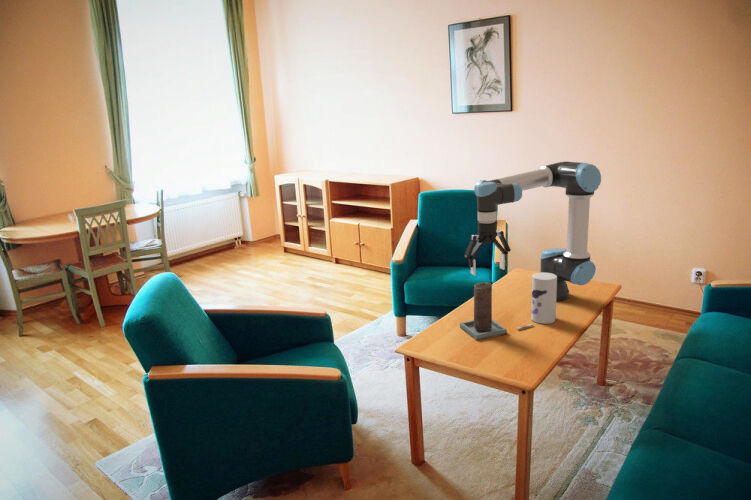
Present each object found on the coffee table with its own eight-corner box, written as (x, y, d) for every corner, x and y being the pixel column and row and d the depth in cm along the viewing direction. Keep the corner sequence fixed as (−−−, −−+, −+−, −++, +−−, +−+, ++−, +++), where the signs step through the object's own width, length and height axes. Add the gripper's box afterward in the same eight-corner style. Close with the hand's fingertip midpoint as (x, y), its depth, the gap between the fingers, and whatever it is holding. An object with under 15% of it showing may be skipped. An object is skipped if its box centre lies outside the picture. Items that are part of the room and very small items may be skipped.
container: (527, 320, 227) (528, 276, 222) (537, 313, 234) (538, 270, 229) (549, 326, 220) (550, 281, 215) (559, 318, 227) (561, 274, 222)
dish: (488, 321, 228) (488, 317, 228) (506, 334, 215) (506, 329, 215) (459, 327, 224) (459, 322, 223) (476, 340, 211) (476, 335, 211)
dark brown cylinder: (491, 333, 215) (491, 287, 210) (473, 332, 217) (473, 287, 211) (491, 325, 222) (491, 281, 217) (474, 325, 224) (473, 281, 219)
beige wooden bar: (531, 326, 222) (531, 323, 222) (533, 327, 221) (533, 324, 221) (516, 330, 219) (516, 327, 219) (518, 331, 218) (518, 328, 218)
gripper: (508, 215, 217) (509, 264, 223) (454, 223, 210) (456, 274, 216) (519, 218, 210) (519, 268, 216) (463, 227, 203) (465, 279, 209)
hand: (487, 271), depth 216 cm, fingers open, 13 cm apart
